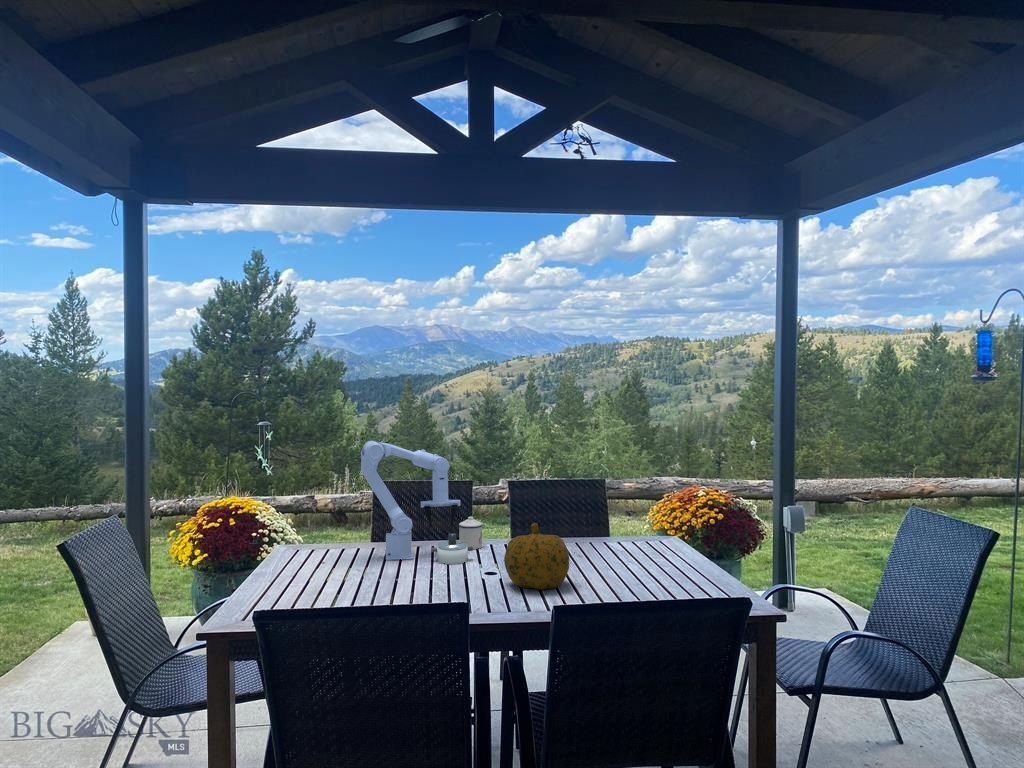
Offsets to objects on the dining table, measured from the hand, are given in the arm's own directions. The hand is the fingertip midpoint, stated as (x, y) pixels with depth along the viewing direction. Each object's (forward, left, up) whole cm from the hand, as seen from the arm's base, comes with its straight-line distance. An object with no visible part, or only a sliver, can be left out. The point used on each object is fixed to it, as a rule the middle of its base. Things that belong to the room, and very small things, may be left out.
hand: (441, 525), depth 270 cm
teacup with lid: (+12, +11, -11) cm, 19 cm away
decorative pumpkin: (+29, -45, -11) cm, 54 cm away
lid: (+4, -11, -5) cm, 12 cm away
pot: (+4, -10, -10) cm, 15 cm away
